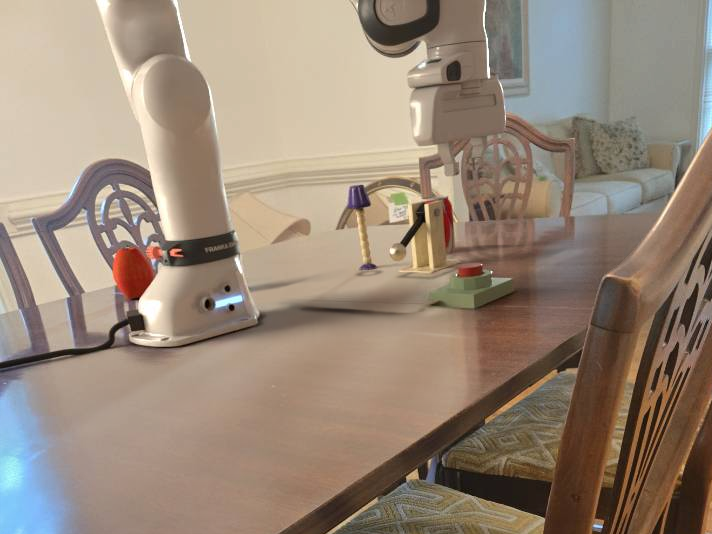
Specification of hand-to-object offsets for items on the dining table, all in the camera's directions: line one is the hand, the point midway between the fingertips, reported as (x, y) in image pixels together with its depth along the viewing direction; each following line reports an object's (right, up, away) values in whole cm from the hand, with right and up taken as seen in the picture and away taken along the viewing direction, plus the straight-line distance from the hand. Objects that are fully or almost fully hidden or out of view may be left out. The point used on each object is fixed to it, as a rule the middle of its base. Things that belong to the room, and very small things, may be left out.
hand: (464, 173), depth 119 cm
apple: (-65, -6, +42) cm, 78 cm away
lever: (-7, +1, +28) cm, 29 cm away
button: (+2, -13, +8) cm, 15 cm away
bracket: (-4, -4, +34) cm, 34 cm away
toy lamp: (-17, -2, +40) cm, 44 cm away
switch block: (+2, -17, +9) cm, 19 cm away
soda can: (-2, +4, +48) cm, 48 cm away
